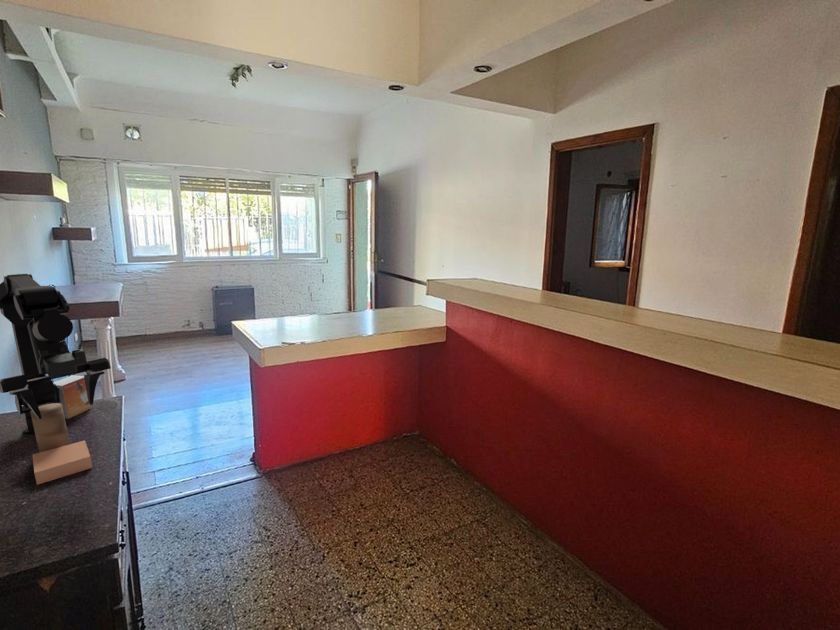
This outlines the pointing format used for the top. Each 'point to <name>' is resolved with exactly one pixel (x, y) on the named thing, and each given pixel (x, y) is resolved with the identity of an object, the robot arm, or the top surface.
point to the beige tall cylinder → (50, 427)
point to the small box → (73, 395)
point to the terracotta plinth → (61, 462)
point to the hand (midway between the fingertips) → (66, 411)
